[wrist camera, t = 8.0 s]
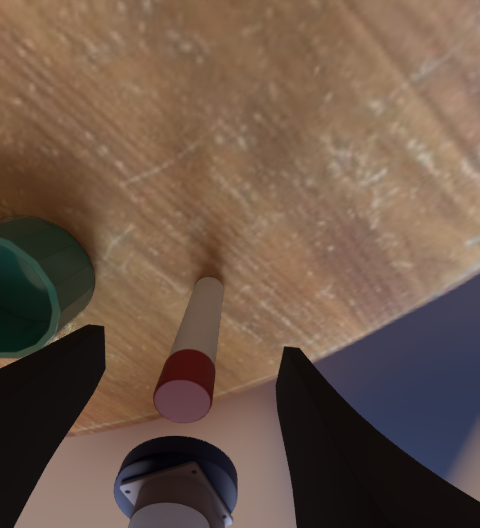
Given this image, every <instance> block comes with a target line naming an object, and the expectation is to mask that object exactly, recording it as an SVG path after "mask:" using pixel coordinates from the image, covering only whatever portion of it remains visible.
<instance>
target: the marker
mask: <svg viewBox="0 0 480 528" xmlns="http://www.w3.org/2000/svg"><path fill="white" fill-rule="evenodd" d="M223 294H224V288H223V285H222V284H221V282H220V281H219V280H217V279H215V278H213V277H204V278H202V279H200V280H199V281H198V282H197V283H196V284H195V287H194V289H193V292H192V295H191V298H190V300H189V303H188V306H187V309H186V311H185V314H184V317H183V319H182V322H181V325H180V328H179V330H178V333H177V336H176V338H175V341H174V344H173V347H172V349H171V352H170V355H169V357H168V359H167V360H166V362H165V364H164V367H163V370H162V372H161V375H160V378H159V380H158V383H157V386H156V388H155V391H154V394H153V401H154V405H155V408H156V409H157V411H158V412H159V413H160V414H161V415H162V416H163V417H165V418H166V419H168V420H170V421H174V422H178V423H191V422H195V421H197V420H200V419H201V418H203V417H204V416H205V415H206V414H207V413H208V412H209V410H210V408H211V405H212V399H213V390H214V381H215V361H216V353H217V344H218V336H219V328H220V319H221V311H222V303H223Z"/></svg>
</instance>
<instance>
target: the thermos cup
mask: <svg viewBox="0 0 480 528" xmlns="http://www.w3.org/2000/svg"><path fill="white" fill-rule="evenodd" d="M93 291H94V272H93V268H92V265H91V263H90V260H89V258H88V256H87V254H86V252H85V251H84V250H83V248H82V247H81V245H80V244H79V243H78V242H77V241H76V240H75V239H74V238H73V237H72V236H71V235H70V234H69V233H67V232H66V231H65V230H63V229H62V228H60V227H58V226H57V225H55V224H53V223H51V222H48V221H46V220H43V219H40V218H36V217H30V216H12V217H2V218H0V358H21V357H24V356H27V355H29V354H32V353H34V352H36V351H38V350H40V349H42V348H43V347H45V346H46V345H47V344H48V343H49V342H50V341H52V340H53V339H54V338H55V337H56V336H57V335H58V334H59V333H60V332H61V331H62V330H63V329H64V328H66V327H67V326H68V325H69V324H70V323H71V322H72V321H73V320H74V319H75V318H76V317H77V316H78V315H79V314H80V313H81V312H82V311H83V310H84V309H85V308H86V306H87V305H88V304H89V302H90V300H91V298H92V295H93Z"/></svg>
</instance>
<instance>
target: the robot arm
mask: <svg viewBox="0 0 480 528" xmlns="http://www.w3.org/2000/svg"><path fill="white" fill-rule="evenodd" d="M105 369H106V365H105V334H104V326H98V325H90V324H88V325H86V326H84V327H82V328H80V329H78V330H76V331H74V332H72V333H70V334H68V335H66V336H64V337H63V338H61V339H59V340H57V341H55V342H53V343H51V344H49V345H47V346H45V347H43V348H42V349H40V350H38V351H36V352H34V353H32V354H30V355H27V356H25V357H23V358H21V359H19V360H17V361H15V362H13V363H11V364H9V365H7V366H5V367H2V368H0V528H14V526H15V523H16V522H17V520H18V518H19V516H20V514H21V512H22V510H23V508H24V506H25V504H26V502H27V501H28V499H29V497H30V495H31V493H32V491H33V490H34V488H35V486H36V484H37V482H38V480H39V479H40V477H41V475H42V473H43V471H44V469H45V468H46V465H47V464H48V462H49V461H50V459H51V458H52V456H53V454H54V453H55V451H56V449H57V448H58V446H59V445H60V443H61V442H62V440H63V439H64V437H65V436H66V434H67V433H68V431H69V430H70V428H71V427H72V425H73V424H74V422H75V421H76V419H77V418H78V416H79V415H80V413H81V412H82V410H83V409H84V407H85V406H86V404H87V403H88V401H89V399H90V398H91V396H92V395H93V393H94V391H95V389H96V387H97V385H98V383H99V381H100V379H101V377H102V375H103V373H104V371H105ZM276 399H277V410H278V416H279V421H280V426H281V431H282V436H283V441H284V446H285V451H286V456H287V461H288V466H289V470H290V477H291V482H292V488H293V498H294V507H295V515H296V525H297V528H480V502H479V501H477V500H476V499H474V498H472V497H471V496H469V495H467V494H466V493H464V492H463V491H461V490H459V489H458V488H456V487H454V486H453V485H451V484H450V483H448V482H447V481H445V480H444V479H442V478H441V477H439V476H438V475H436V474H435V473H433V472H432V471H430V470H429V469H428V468H426V467H425V466H423V465H422V464H420V463H419V462H418V461H416V460H415V459H414V458H412V457H411V456H409V455H408V454H407V453H405V452H404V451H403V450H401V449H400V448H399V447H398V446H396V445H395V444H394V443H392V442H391V441H390V440H389V439H387V438H386V437H385V436H384V435H382V434H381V433H380V432H379V431H378V430H376V429H375V428H374V427H373V426H372V425H371V424H370V423H369V422H367V421H366V420H365V419H364V418H363V417H362V416H361V415H359V414H358V413H357V412H356V411H355V410H354V409H353V408H352V407H351V406H350V405H349V404H348V403H347V402H346V401H345V400H344V399H343V398H342V397H341V396H340V395H339V394H338V393H337V391H336V390H335V389H334V388H333V387H332V386H331V385H330V384H329V383H328V382H327V380H326V379H325V378H324V377H323V376H322V375H321V374H320V372H319V371H318V370H317V369H316V368H315V366H314V365H313V364H312V363H311V361H310V360H309V359H308V358H307V357H306V355H305V354H304V353H303V352H302V351H301V349H300V348H295V347H286V346H284V351H283V355H282V360H281V364H280V369H279V373H278V378H277V382H276ZM120 489H121V491H122V492H123V493H124V494H125V496H126V497H127V498H128V499H129V500H130V502H131V503H132V504H133V505H134V510H133V513H132V516H131V519H130V523H129V526H128V528H225V527H226V526H229V525H232V524H233V517H232V515H231V514H230V512H229V511H228V509H227V508H226V506H225V505H224V503H223V502H222V500H221V498H220V497H219V495H218V494H217V492H216V491H215V489H214V488H213V486H212V485H211V483H210V482H209V480H208V479H207V477H206V476H205V474H204V473H203V471H202V470H201V468H200V467H199V465H198V464H197V463H196V462H195V461H189V462H186V463H183V464H179V465H176V466H173V467H169V468H166V469H163V470H159V471H156V472H153V473H149V474H146V475H143V476H139V477H136V478H133V479H129V480H126V481H123V482H122V483H121V485H120Z"/></svg>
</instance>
